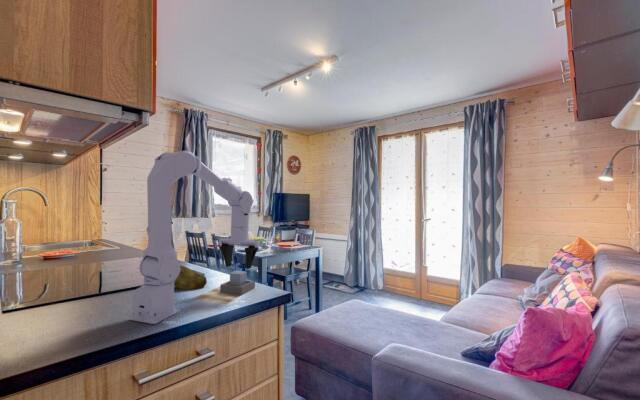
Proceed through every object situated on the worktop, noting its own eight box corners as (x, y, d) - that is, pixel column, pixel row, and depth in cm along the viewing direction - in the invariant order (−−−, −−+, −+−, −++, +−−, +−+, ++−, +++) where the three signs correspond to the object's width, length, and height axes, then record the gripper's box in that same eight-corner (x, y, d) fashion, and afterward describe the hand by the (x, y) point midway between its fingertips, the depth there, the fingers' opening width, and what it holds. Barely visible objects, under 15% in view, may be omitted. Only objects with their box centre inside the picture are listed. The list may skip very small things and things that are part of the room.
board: (226, 305, 93) (226, 303, 93) (191, 300, 97) (191, 298, 97) (255, 289, 110) (255, 287, 110) (225, 285, 114) (225, 283, 114)
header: (241, 295, 101) (242, 287, 101) (220, 292, 104) (220, 284, 104) (255, 288, 110) (255, 280, 110) (234, 285, 112) (234, 278, 112)
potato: (196, 294, 103) (196, 269, 103) (160, 291, 105) (160, 266, 105) (209, 287, 111) (209, 264, 111) (175, 284, 113) (176, 262, 113)
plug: (240, 292, 104) (240, 274, 104) (229, 291, 105) (229, 273, 105) (247, 288, 108) (247, 271, 108) (236, 287, 110) (237, 270, 110)
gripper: (264, 227, 108) (263, 266, 108) (227, 224, 113) (226, 263, 113) (254, 228, 102) (253, 271, 102) (215, 226, 106) (214, 266, 106)
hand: (238, 267), depth 107 cm, fingers open, 7 cm apart
